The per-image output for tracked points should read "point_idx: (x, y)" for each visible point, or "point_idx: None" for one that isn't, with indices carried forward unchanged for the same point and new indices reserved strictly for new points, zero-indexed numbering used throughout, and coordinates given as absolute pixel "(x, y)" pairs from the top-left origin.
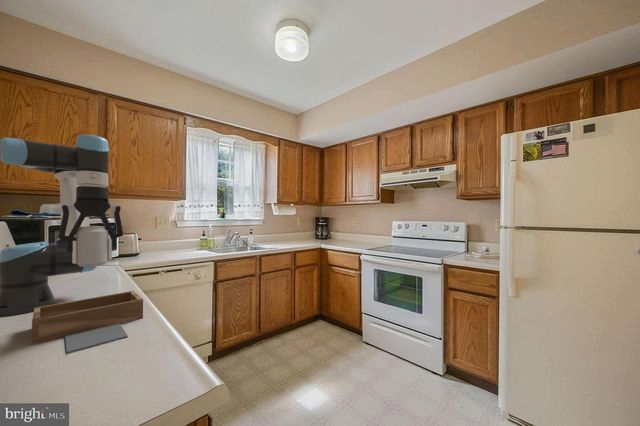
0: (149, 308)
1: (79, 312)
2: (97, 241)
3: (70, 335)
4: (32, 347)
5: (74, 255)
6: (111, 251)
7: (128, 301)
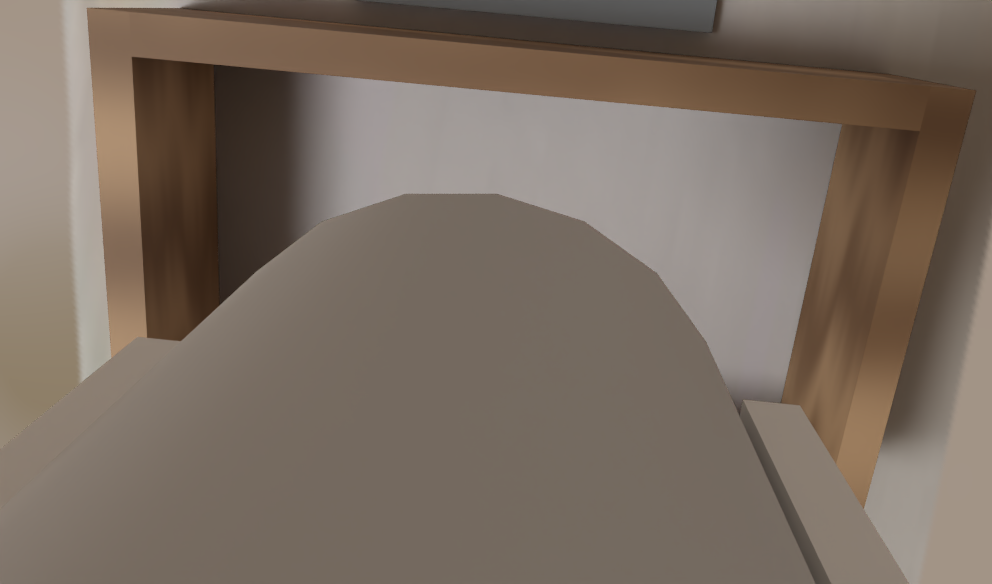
0: (91, 242)
1: (637, 60)
2: (237, 445)
3: (683, 15)
4: (898, 6)
5: (829, 498)
6: (25, 437)
7: (219, 64)
